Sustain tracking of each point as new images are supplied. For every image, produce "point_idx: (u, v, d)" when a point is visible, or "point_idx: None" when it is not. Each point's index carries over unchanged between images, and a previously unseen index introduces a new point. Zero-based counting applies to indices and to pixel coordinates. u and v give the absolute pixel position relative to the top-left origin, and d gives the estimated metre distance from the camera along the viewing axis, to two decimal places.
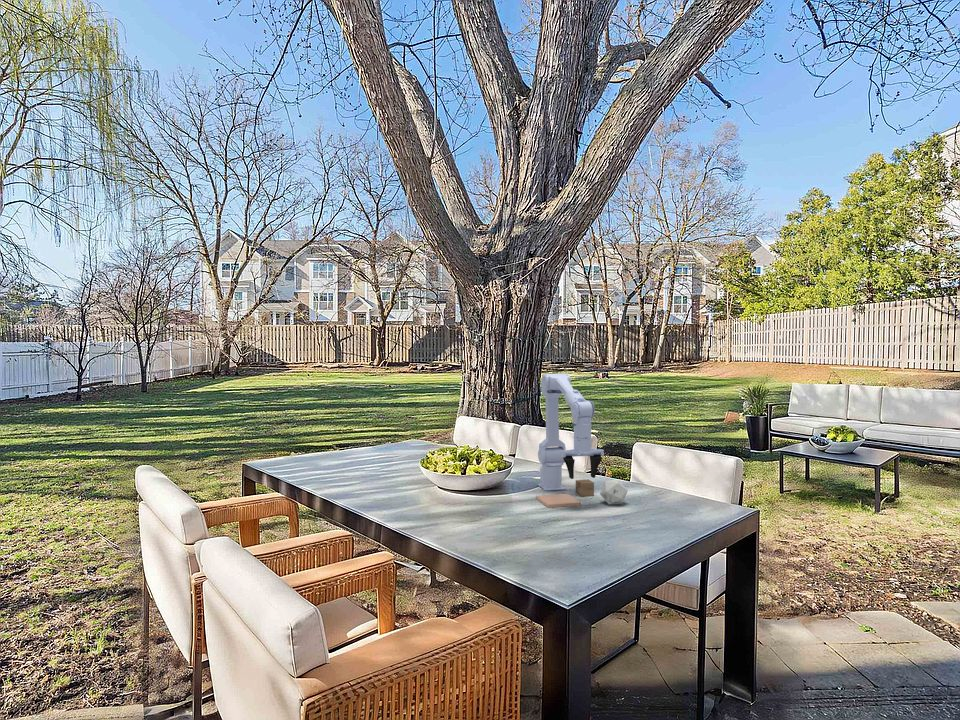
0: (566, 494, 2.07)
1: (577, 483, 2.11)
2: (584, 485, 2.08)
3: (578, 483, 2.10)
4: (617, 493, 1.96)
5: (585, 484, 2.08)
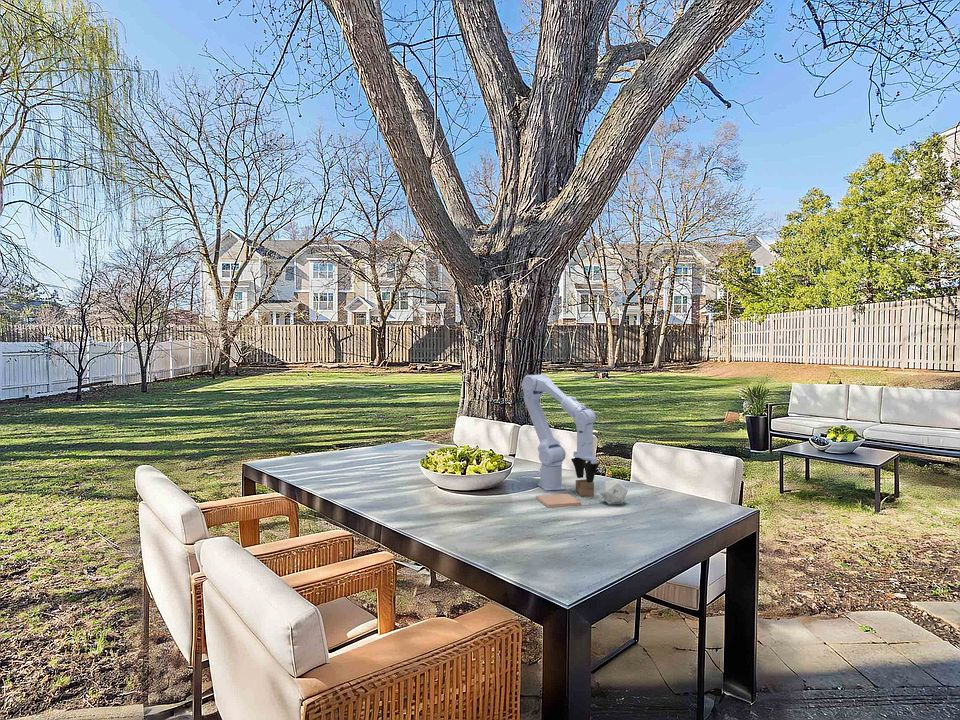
0: (566, 494, 2.07)
1: (577, 483, 2.11)
2: (584, 485, 2.08)
3: (578, 483, 2.10)
4: (617, 493, 1.96)
5: (585, 484, 2.08)
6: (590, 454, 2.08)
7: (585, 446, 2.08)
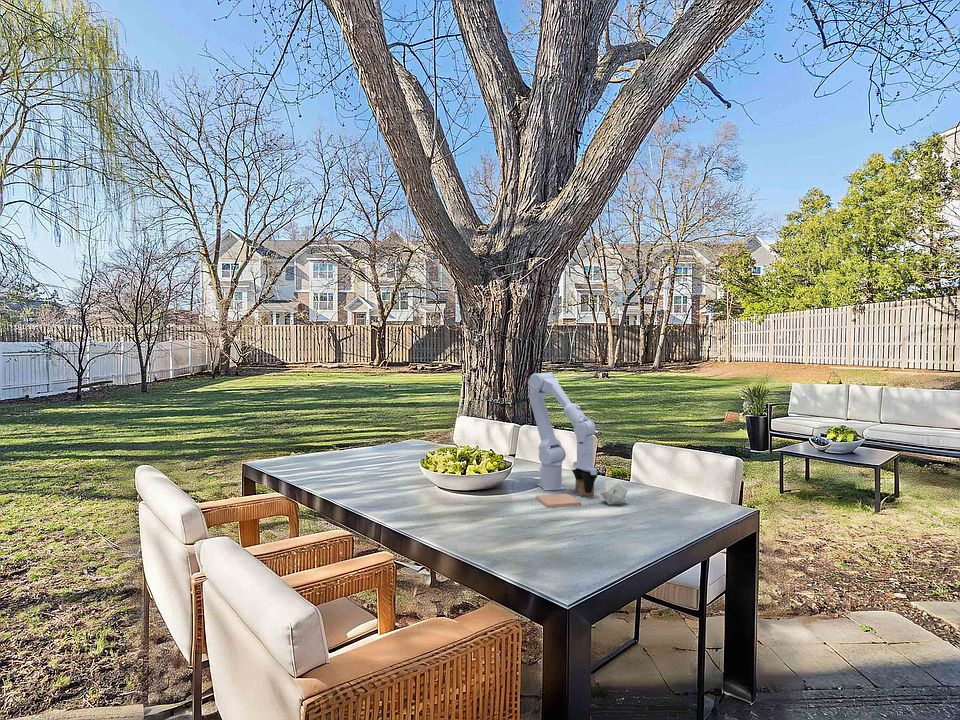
0: (566, 494, 2.07)
1: (577, 483, 2.11)
2: None
3: (578, 483, 2.10)
4: (617, 493, 1.96)
5: None
6: (590, 465, 2.09)
7: (585, 457, 2.08)
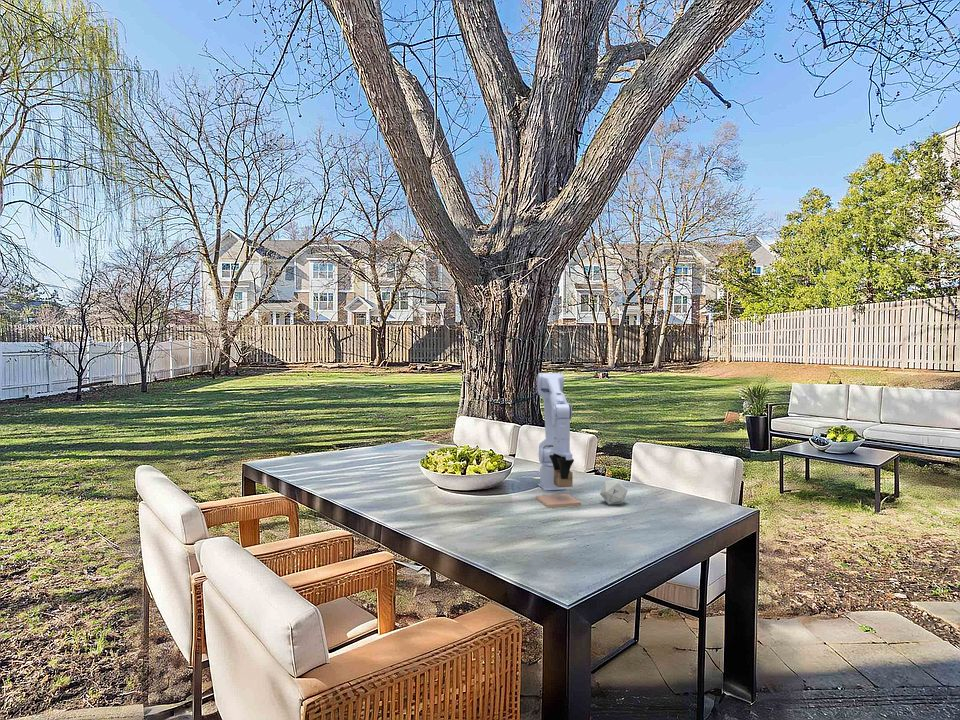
0: (566, 494, 2.07)
1: (555, 473, 2.02)
2: None
3: (556, 473, 2.01)
4: (617, 493, 1.96)
5: None
6: (566, 450, 2.00)
7: (561, 441, 1.99)
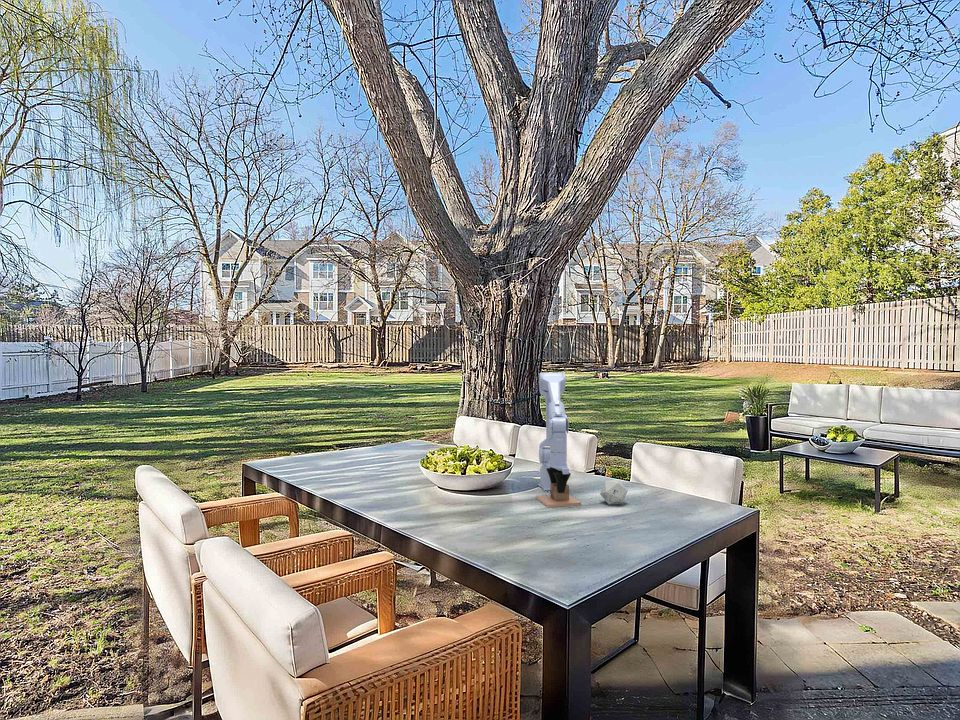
0: None
1: (552, 486, 2.01)
2: None
3: (553, 486, 2.01)
4: (617, 493, 1.96)
5: None
6: (563, 464, 1.99)
7: (558, 455, 1.98)
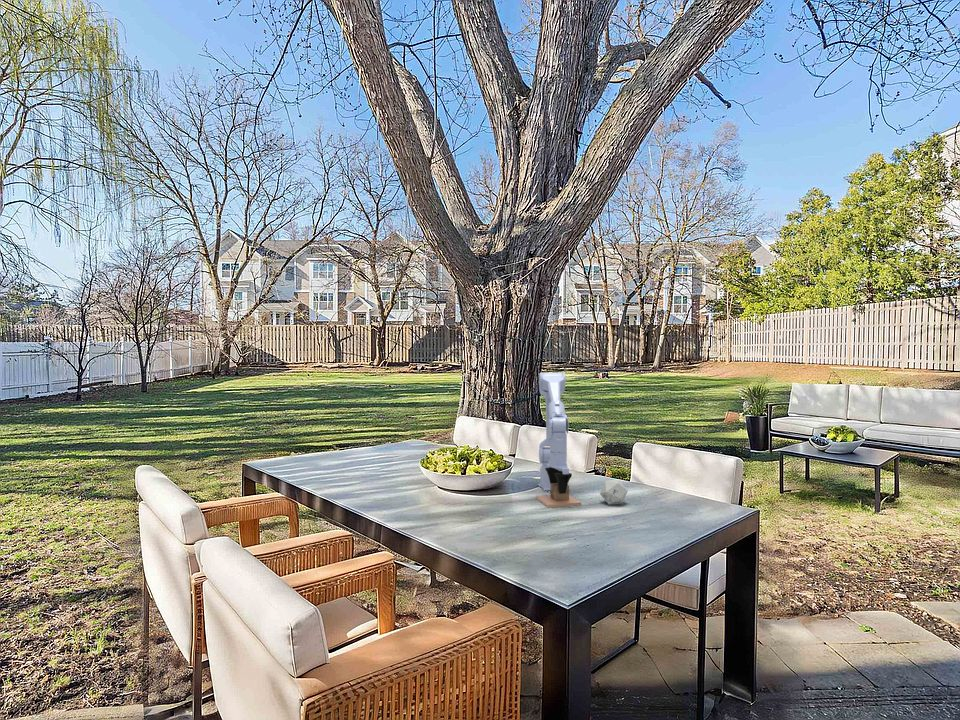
0: None
1: (552, 486, 2.01)
2: None
3: (553, 486, 2.01)
4: (617, 493, 1.96)
5: None
6: (563, 464, 1.99)
7: (558, 455, 1.98)
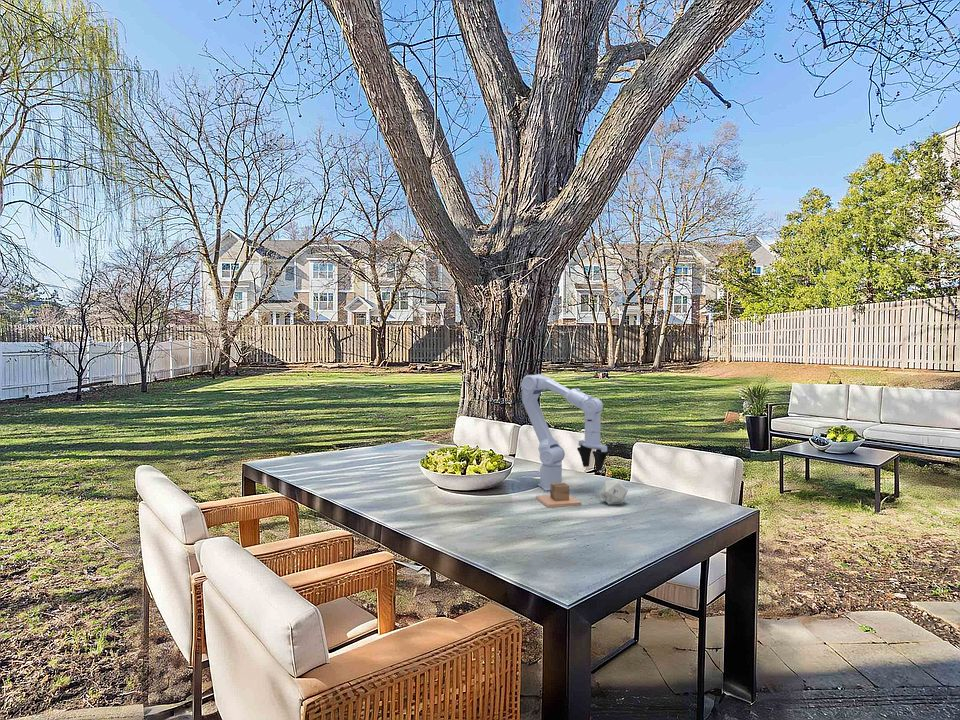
0: None
1: (552, 486, 2.01)
2: (559, 489, 1.99)
3: (553, 486, 2.01)
4: (617, 493, 1.96)
5: (560, 488, 1.99)
6: (598, 442, 2.09)
7: (594, 435, 2.09)
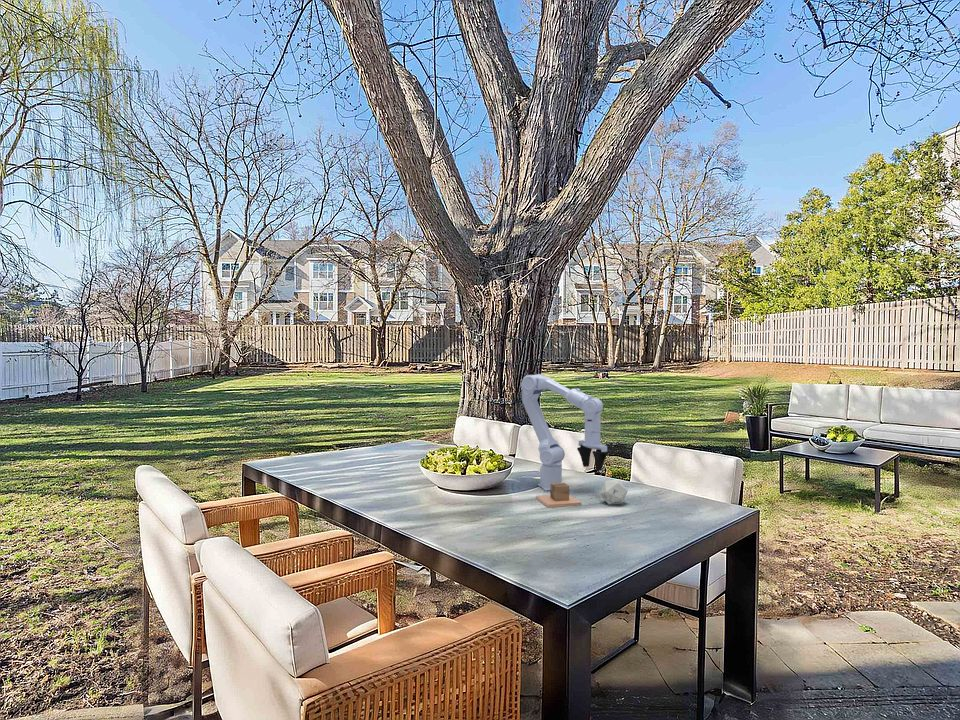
0: None
1: (552, 486, 2.01)
2: (559, 489, 1.99)
3: (553, 486, 2.01)
4: (617, 493, 1.96)
5: (560, 488, 1.99)
6: (598, 442, 2.09)
7: (594, 435, 2.09)
